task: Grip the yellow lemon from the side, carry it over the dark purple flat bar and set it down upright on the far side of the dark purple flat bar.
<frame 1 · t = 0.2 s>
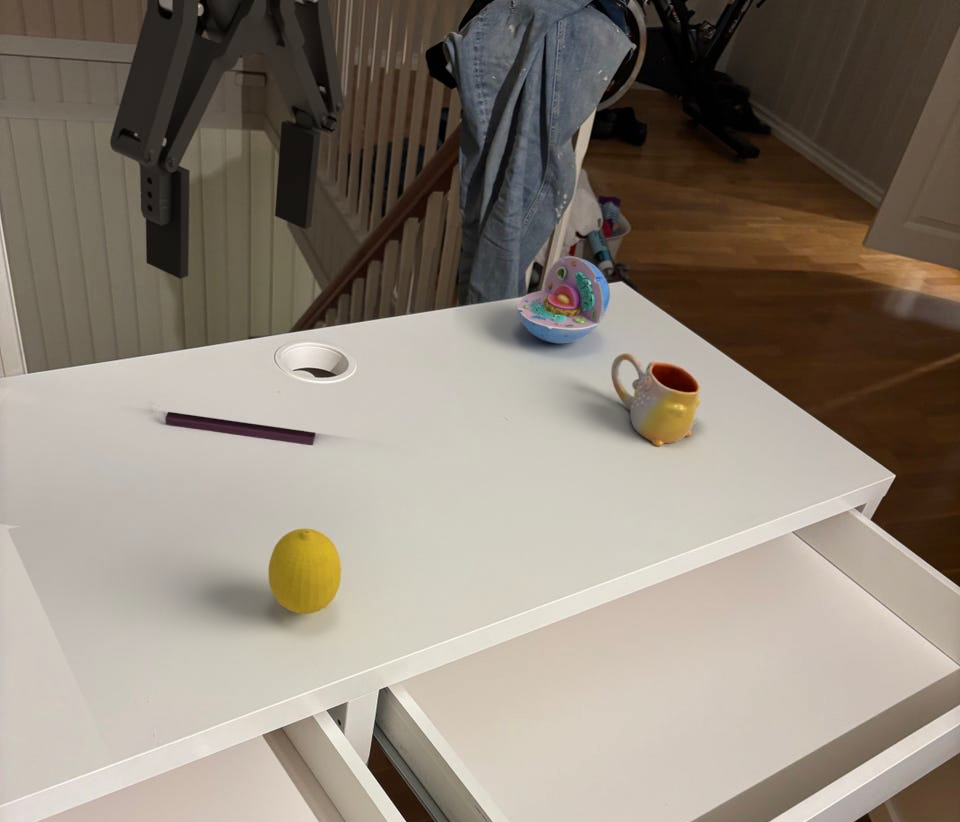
hand: (234, 244, 67), 25 cm above the table, tool pointing down, fingers open, 13 cm apart
lemon: (302, 612, 78), on the table
cell model: (555, 340, 120), on the table
dark purple flat bar: (244, 421, 96), on the table
mug: (642, 419, 109), on the table
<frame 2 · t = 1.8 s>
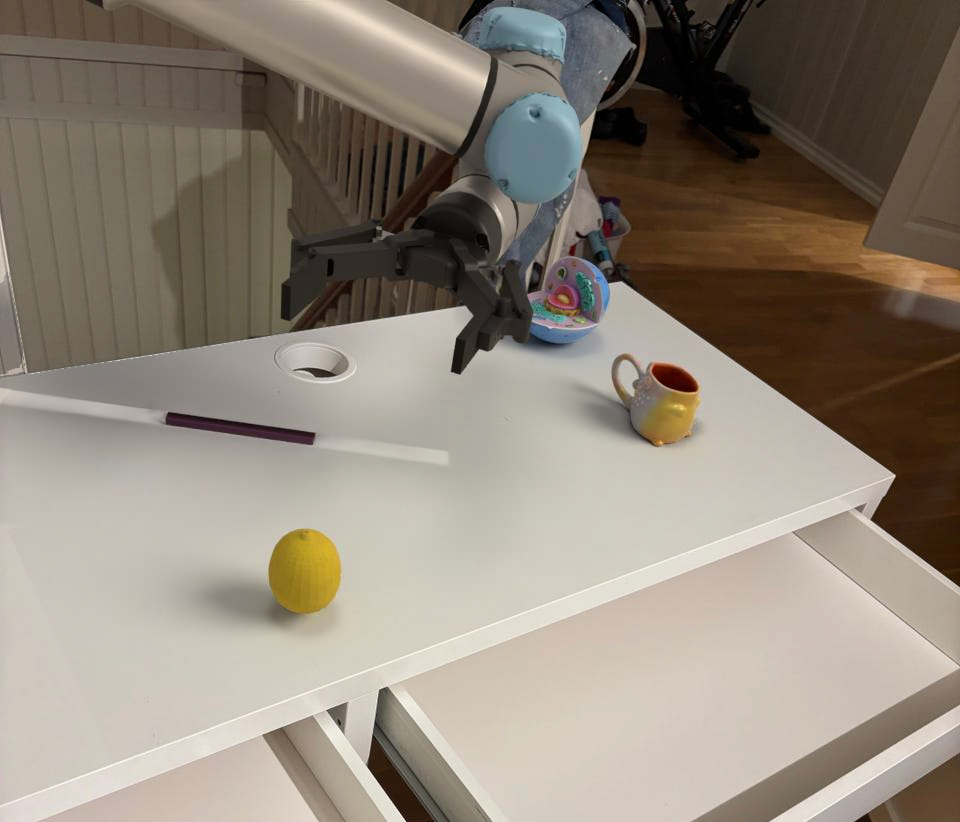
hand: (370, 329, 71), 20 cm above the table, tool horizontal, fingers open, 13 cm apart
nothing on the table moved.
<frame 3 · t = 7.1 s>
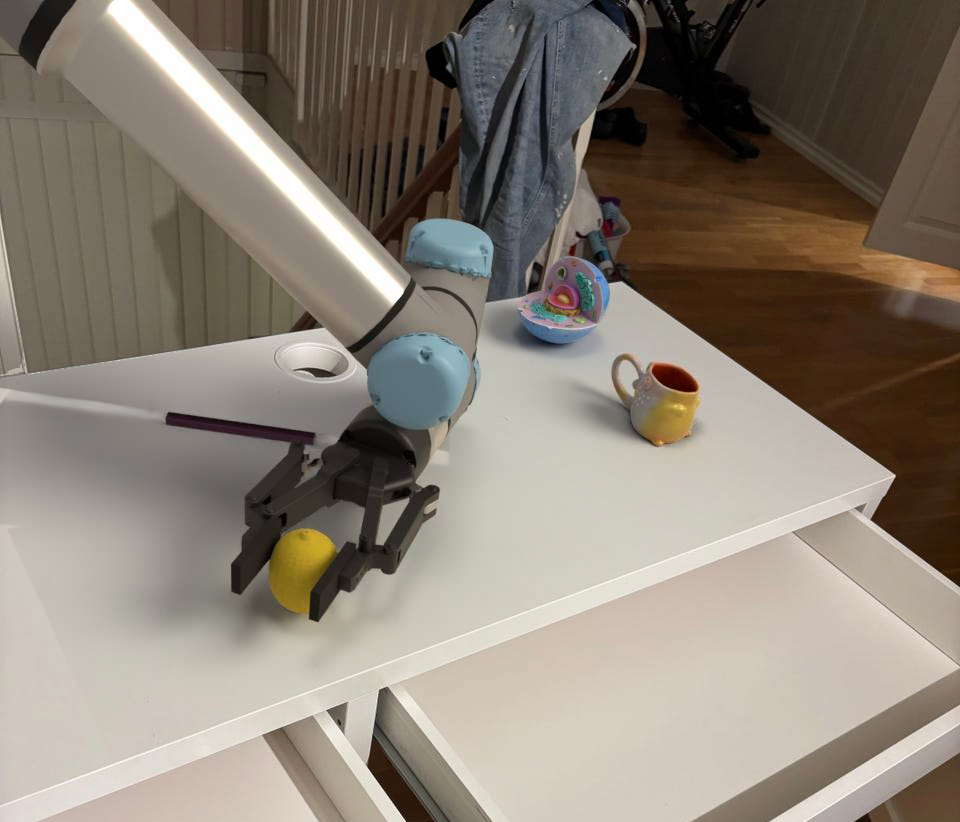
hand: (275, 593, 70), 6 cm above the table, tool horizontal, fingers closed on lemon, 5 cm apart
lemon: (302, 612, 78), on the table, touching gripper
everything else where it was.
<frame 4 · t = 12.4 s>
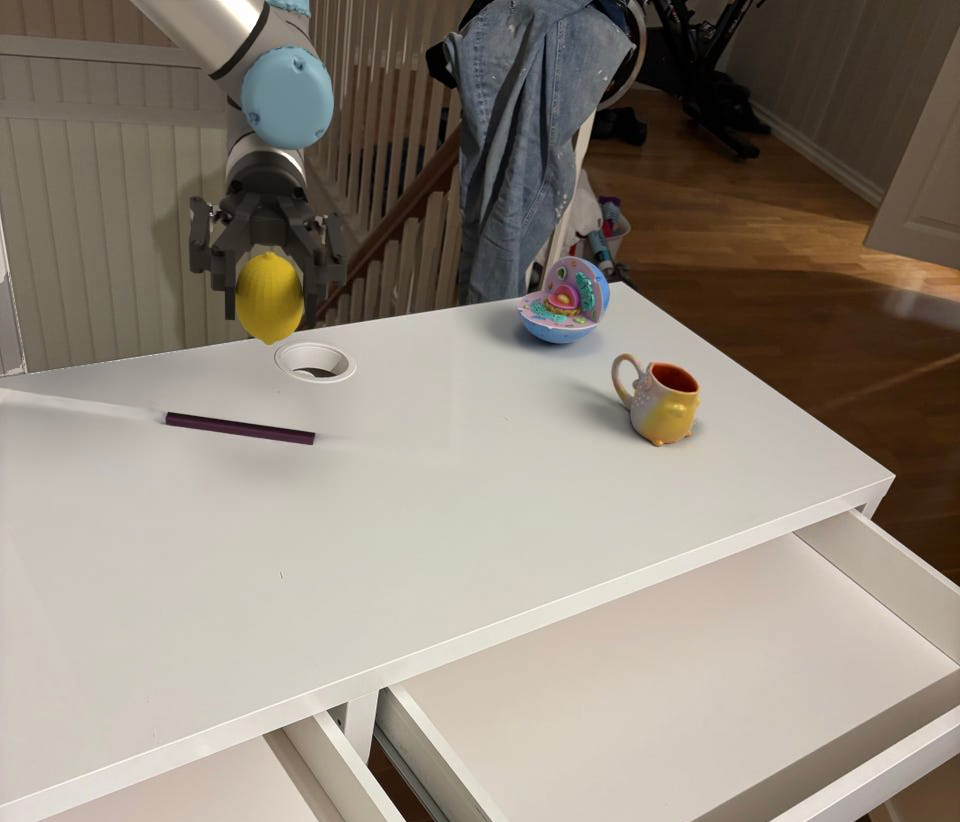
hand: (271, 306, 76), 18 cm above the table, tool horizontal, fingers closed on lemon, 5 cm apart
lemon: (268, 346, 83), point 12 cm above the table, touching gripper
everything else where it was.
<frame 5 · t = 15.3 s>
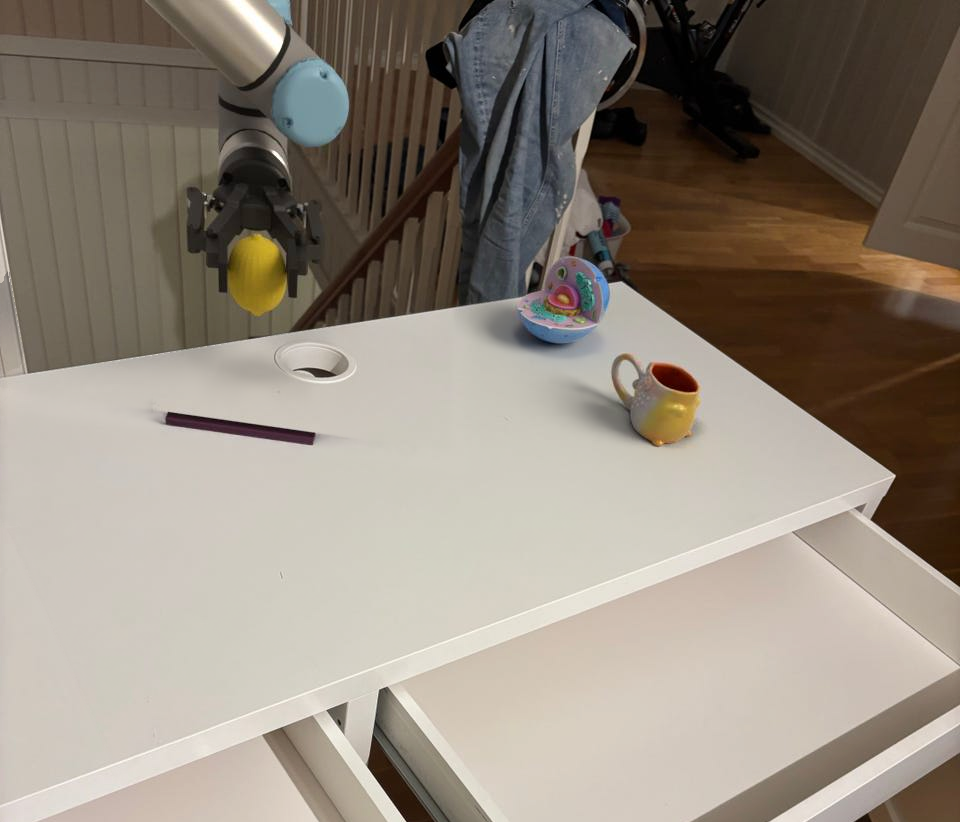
hand: (258, 280, 88), 14 cm above the table, tool horizontal, fingers closed on lemon, 5 cm apart
lemon: (256, 317, 96), point 7 cm above the table, touching gripper
everything else where it was.
when the fingers open (6 cm above the table, at t = 17.7 s): lemon stays where it is, on the table.
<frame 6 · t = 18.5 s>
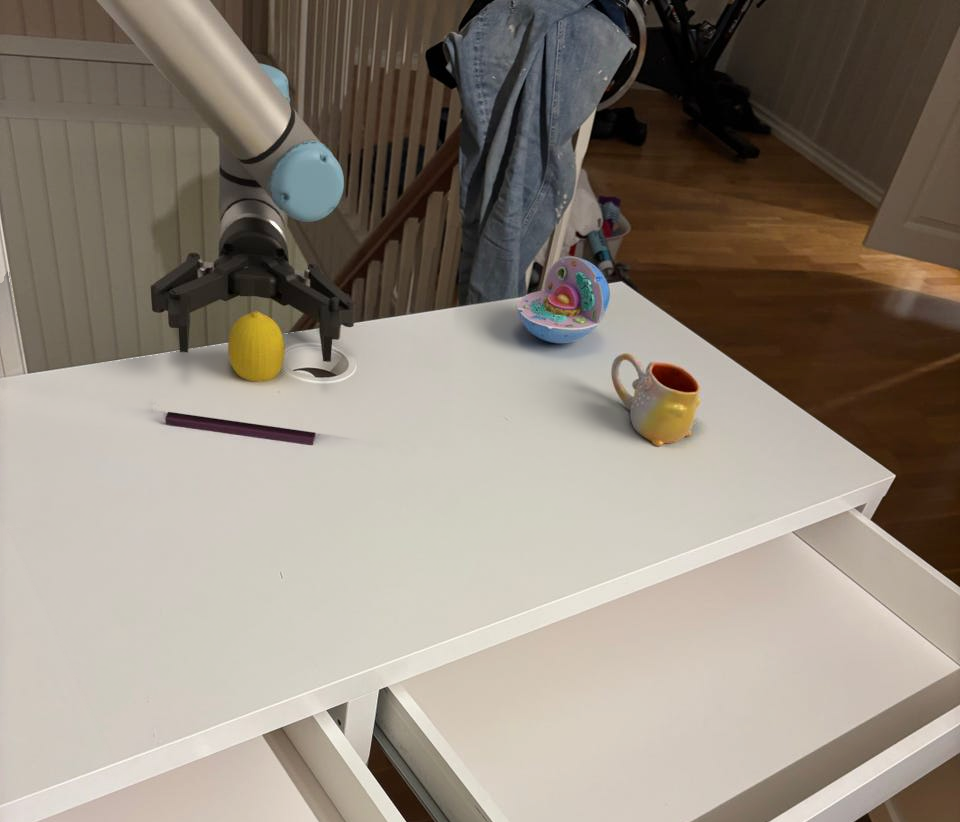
hand: (256, 344, 94), 6 cm above the table, tool horizontal, fingers open, 13 cm apart
lemon: (256, 386, 101), on the table
everything else where it was.
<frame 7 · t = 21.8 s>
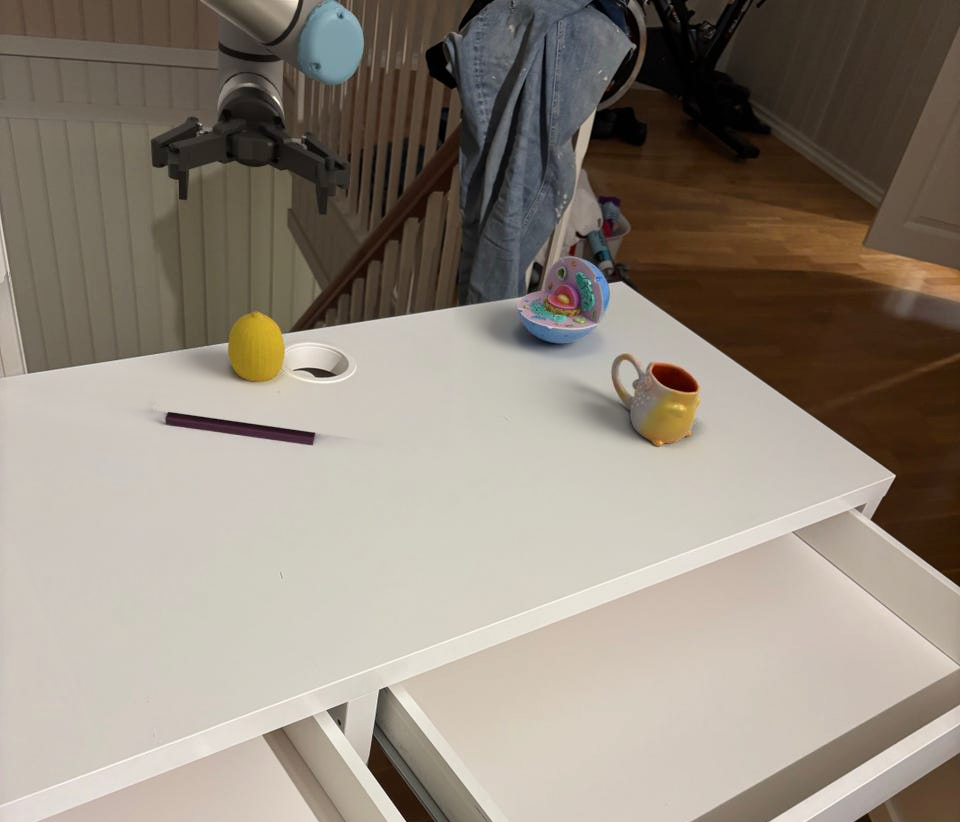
hand: (254, 193, 96), 16 cm above the table, tool horizontal, fingers open, 13 cm apart
nothing on the table moved.
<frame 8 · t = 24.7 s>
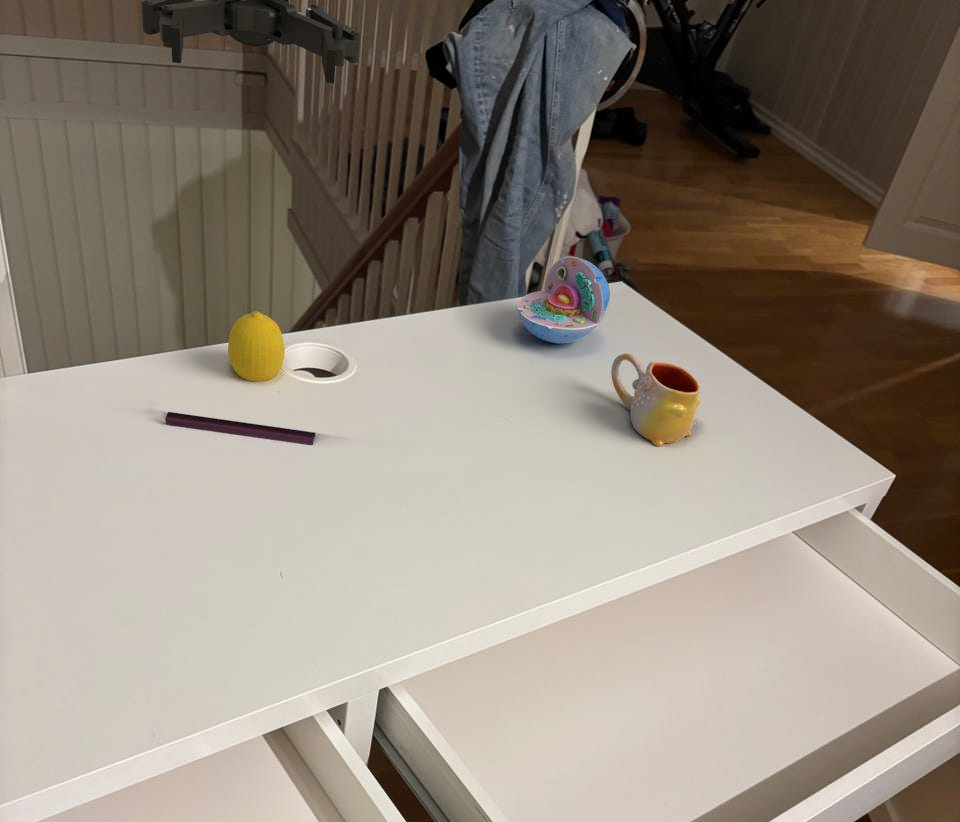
hand: (254, 56, 88), 28 cm above the table, tool horizontal, fingers open, 13 cm apart
nothing on the table moved.
at the end: lemon inside the target area on the table beside the dark purple flat bar (0.8 cm from its centre), on the table; lemon tilted 0°; the gripper is holding nothing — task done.
